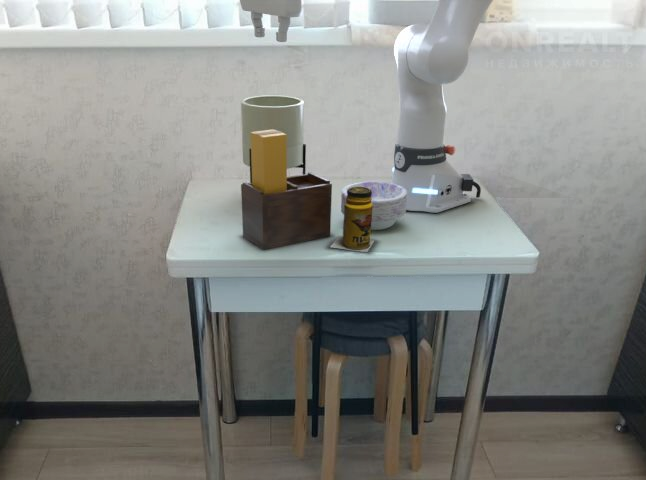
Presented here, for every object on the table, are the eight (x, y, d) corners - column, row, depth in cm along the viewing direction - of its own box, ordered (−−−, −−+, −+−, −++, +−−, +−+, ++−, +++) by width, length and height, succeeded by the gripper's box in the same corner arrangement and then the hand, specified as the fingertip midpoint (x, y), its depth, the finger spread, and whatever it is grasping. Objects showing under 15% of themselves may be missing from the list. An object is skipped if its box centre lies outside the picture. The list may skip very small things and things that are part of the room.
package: (274, 187, 154) (273, 128, 146) (287, 194, 150) (287, 133, 143) (252, 191, 151) (250, 131, 144) (264, 198, 147) (263, 136, 140)
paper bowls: (333, 231, 161) (335, 196, 156) (347, 211, 173) (349, 178, 168) (399, 238, 158) (402, 202, 153) (408, 217, 170) (412, 183, 165)
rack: (307, 223, 165) (308, 171, 158) (330, 236, 159) (332, 181, 152) (242, 236, 158) (240, 181, 151) (263, 249, 151) (262, 193, 144)
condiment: (367, 252, 150) (371, 195, 143) (329, 248, 152) (331, 191, 145) (374, 241, 156) (378, 186, 149) (338, 237, 158) (340, 182, 151)
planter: (300, 209, 174) (301, 108, 160) (238, 205, 176) (234, 105, 162) (309, 191, 186) (311, 96, 172) (251, 188, 188) (248, 93, 174)
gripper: (309, -39, 134) (308, 43, 143) (259, -42, 148) (260, 33, 157) (281, -39, 132) (282, 45, 140) (232, -42, 146) (235, 35, 154)
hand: (270, 39), depth 148 cm, fingers open, 8 cm apart
